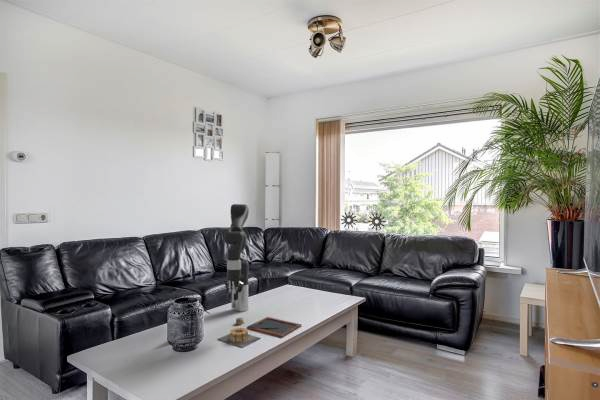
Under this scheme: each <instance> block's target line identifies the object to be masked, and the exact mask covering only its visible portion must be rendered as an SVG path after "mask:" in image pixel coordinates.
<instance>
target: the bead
mask: <svg viewBox="0 0 600 400" xmlns="http://www.w3.org/2000/svg"><path fill="white" fill-rule="evenodd" d="M244 323H245V322H244V317H237V318H236V319H235V325H236V326H242V324H243V325H244Z"/></svg>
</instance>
